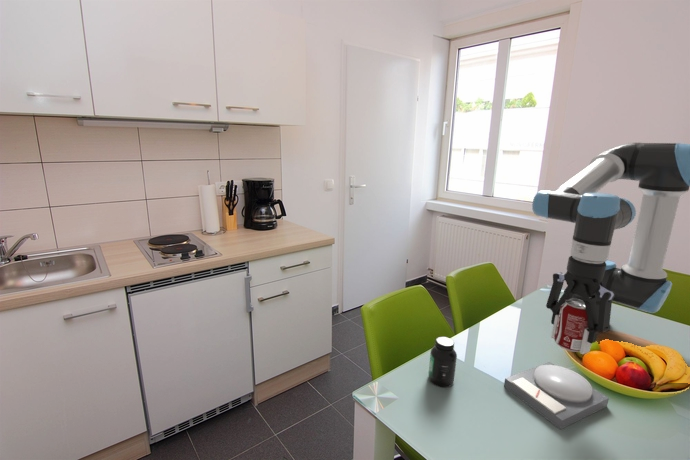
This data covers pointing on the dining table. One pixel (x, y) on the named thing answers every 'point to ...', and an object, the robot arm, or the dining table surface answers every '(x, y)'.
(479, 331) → the dining table surface
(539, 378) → the scale
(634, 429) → the dining table surface
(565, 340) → the soda can
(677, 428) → the dining table surface
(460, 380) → the dining table surface
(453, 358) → the supplement bottle
